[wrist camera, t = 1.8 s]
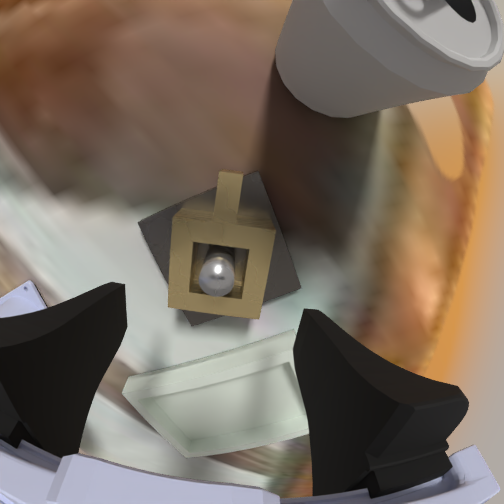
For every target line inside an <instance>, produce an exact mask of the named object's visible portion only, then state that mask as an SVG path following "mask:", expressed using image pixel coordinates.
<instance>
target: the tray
mask: <svg viewBox="0 0 504 504" xmlns="http://www.w3.org/2000/svg"><path fill="white" fill-rule="evenodd" d="M295 339H296V334H295V331H294V329H292V330H290V331H287V332H284V333H281V334H278V335H275V336H272V337H269V338H267V339H264V340H261V341H258V342H254V343H251V344H248V345H245V346H242V347H239V348H236V349H232V350H229V351H226V352H222V353H219V354H216V355H212V356H209V357H205V358H202V359H198V360H194V361H191V362H187V363H183V364H179V365H175V366H172V367H168V368H163V369H159V370H155V371H151V372H147V373H142V374H138V375H133V376H129V377H128V379H127V382H126V384H125V386H124V389H123V391H122V394H123V395H124V397H125V398H126V399H127V400H128V401H129V402H130V403H131V404H132V406H133V407H134V408H135V409H136V410H137V411H138V412H139V413H140V414H141V415H142V416H143V417H144V418H145V420H146V421H147V422H148V423H149V424H150V425H151V426H152V427H153V428H154V429H155V430H156V431H157V432H158V433H159V434H160V435H161V436H162V437H163V438H165V439H166V440H167V441H168V442H169V443H170V444H171V445H172V446H173V447H174V448H175V449H176V450H177V451H179V452H180V453H181V454H182V455H183V456H184V457H185V458H192V457H201V456H209V455H216V454H222V453H228V452H234V451H240V450H245V449H250V448H255V447H259V446H264V445H268V444H272V443H276V442H280V441H284V440H288V439H291V438H295V437H299V436H302V435H305V434H309V428H308V420H307V415H306V410H305V407H304V403H303V399H302V395H301V391H300V388H299V384H298V380H297V376H296V372H295V367H294V358H293V346H294V342H295Z"/></svg>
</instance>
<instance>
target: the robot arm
mask: <svg viewBox="0 0 504 504" xmlns="http://www.w3.org/2000/svg"><path fill="white" fill-rule="evenodd" d="M126 329H127V313H126V295H125V284H120V283H115V282H110V283H107V284H104V285H102V286H99V287H97V288H95V289H92V290H90V291H88V292H86V293H84V294H81V295H79V296H77V297H75V298H72V299H70V300H67V301H65V302H62V303H60V304H57V305H55V306H52V307H49V308H47V306H46V305H45V303H44V301H43V300H42V298H41V296H40V294H39V292H38V291H37V289H36V287H35V285H34V284H33V282H32V281H30V280H29V281H27V282H25V283H24V284H22V285H20V286H19V287H17V288H16V289H14V290H12V291H11V292H9V293H8V294H6V295H4V296H3V297H1V298H0V503H1V504H484V503H485V502H486V501H488V500H489V499H490V498H491V497H493V496H494V495H495V494H497V493H498V492H499V491H500V487H499V485H498V483H497V482H496V480H495V478H494V476H493V474H492V473H491V471H490V469H489V467H488V466H487V464H486V462H485V460H484V458H483V457H482V456H481V454H480V452H479V450H478V448H477V447H476V445H471V446H469V447H467V448H465V449H462V450H460V451H457V452H455V453H453V454H452V455H451V456H449V457H448V456H447V454H446V453H445V451H446V450H447V449H448V448H449V445H448V443H447V441H446V439H447V438H448V436H449V435H450V434H451V433H452V432H453V431H454V430H455V428H456V427H457V426H458V425H459V423H460V422H461V421H462V419H463V418H464V416H465V415H466V413H467V410H468V406H469V402H468V399H467V398H466V396H465V395H464V394H463V392H462V391H461V390H460V389H459V387H458V386H455V385H451V384H447V383H443V382H439V381H435V380H431V379H428V378H425V377H423V376H420V375H417V374H415V373H412V372H410V371H407V370H405V369H403V368H401V367H399V366H397V365H394V364H393V363H391V362H389V361H387V360H385V359H384V358H382V357H380V356H378V355H377V354H375V353H374V352H372V351H371V350H369V349H368V348H366V347H365V346H363V345H362V344H361V343H359V342H358V341H357V340H355V339H354V338H353V337H351V336H350V335H349V334H348V333H346V332H345V331H344V330H343V329H342V328H340V327H339V326H338V325H337V324H336V323H334V322H333V321H332V320H331V319H330V318H329V317H327V316H326V315H325V314H324V313H322V312H321V311H319V310H315V309H304V310H303V314H302V317H301V321H300V325H299V328H298V332H297V335H296V339H295V342H294V346H293V358H294V367H295V372H296V376H297V380H298V384H299V388H300V391H301V395H302V399H303V403H304V407H305V410H306V415H307V420H308V428H309V436H310V446H311V457H312V477H313V496H312V497H300V498H283V499H280V498H279V496H278V495H276V494H274V493H272V492H270V491H267V490H265V489H262V488H260V487H256V486H248V485H241V484H234V483H223V482H212V481H203V480H195V479H187V478H181V477H175V476H169V475H164V474H159V473H154V472H149V471H145V470H141V469H136V468H133V467H129V466H125V465H121V464H118V463H114V462H111V461H108V460H104V459H101V458H97V457H92V456H88V455H84V454H80V453H79V454H78V452H79V447H80V443H81V438H82V434H83V430H84V426H85V423H86V419H87V416H88V413H89V410H90V407H91V404H92V401H93V398H94V395H95V393H96V390H97V388H98V386H99V384H100V382H101V380H102V378H103V376H104V374H105V373H106V371H107V369H108V367H109V365H110V363H111V362H112V360H113V358H114V356H115V354H116V352H117V351H118V349H119V347H120V345H121V342H122V340H123V337H124V335H125V332H126Z"/></svg>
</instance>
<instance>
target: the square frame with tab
mask: <svg viewBox="0 0 504 504" xmlns="http://www.w3.org/2000/svg"><path fill="white" fill-rule="evenodd" d="M242 180H243V172H241V171H233V170H226V169H222V170H220V171H219V177H218V184H217V191H216V199H215V207H214V212H209V211H201V210H193V209H185V208H181V209H180V210H179V211H178V212H177V213H176V214H175V215H174V216H173V221H172V233H171V248H170V265H169V288H168V307H170V308H176V309H182V310H189V311H196V312H203V313H210V314H218V315H226V316H234V317H243V318H251V319H259V318H260V313H261V308H262V303H263V297H264V292H265V287H266V282H267V277H268V272H269V266H270V261H271V256H272V250H273V245H274V239H275V234H276V229H275V227H274V225H273V223H272V220H267V219H260V218H253V217H246V216H239V215H237V213H238V207H239V200H240V193H241V186H242ZM198 242H199V243H207V244H214V245H222V246H229V247H237V248H244V249H246V256H245V262H244V268H243V275H242V281H234V286H233V288H232V290H231V291H230V292H229V293H228V294H226V295H224V296H220V297H214V296H210V295H208V294H206V293H205V292H204V291H203V290H202V289H201V287H200V285H199V276H197V275H195V269H196V258H197V247H198Z"/></svg>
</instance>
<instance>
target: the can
mask: <svg viewBox="0 0 504 504" xmlns="http://www.w3.org/2000/svg"><path fill="white" fill-rule="evenodd" d="M503 53H504V25H503V22H502V19H501V16H500V13H499V10H498V7H497V5H496V3H495V1H494V0H293V1H292V4H291V6H290V9H289V12H288V15H287V17H286V20H285V23H284V25H283V28H282V31H281V34H280V37H279V40H278V43H277V46H276V49H275V54H276V67H277V69H278V72H279V74H280V76H281V79H282V81H283V83H284V85H285V86H286V87H287V88H288V89H289V91H290V92H291V93H292V94H293V95H294V97H295V98H296V99H297V100H299V101H300V102H302V103H303V104H305V105H306V106H307V107H309V108H310V109H312V110H314V111H317V112H319V113H322V114H325V115H327V116H330V117H341V118H351V117H355V116H359V115H363V114H367V113H371V112H375V111H379V110H383V109H387V108H392V107H396V106H400V105H405V104H409V103H414V102H419V101H424V100H429V99H434V98H440V97H446V96H452V95H458V94H465V93H470V92H471V91H472V90H473V89H475V88H476V87H477V86H479V85H480V84H481V83H482V82H483V81H484V79H485V77H486V74H487V72H488V71H489V70H491V69H492V68H493V67H495V66H496V65H497V64H498V63H500V62H501V59H502V56H503Z"/></svg>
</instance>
